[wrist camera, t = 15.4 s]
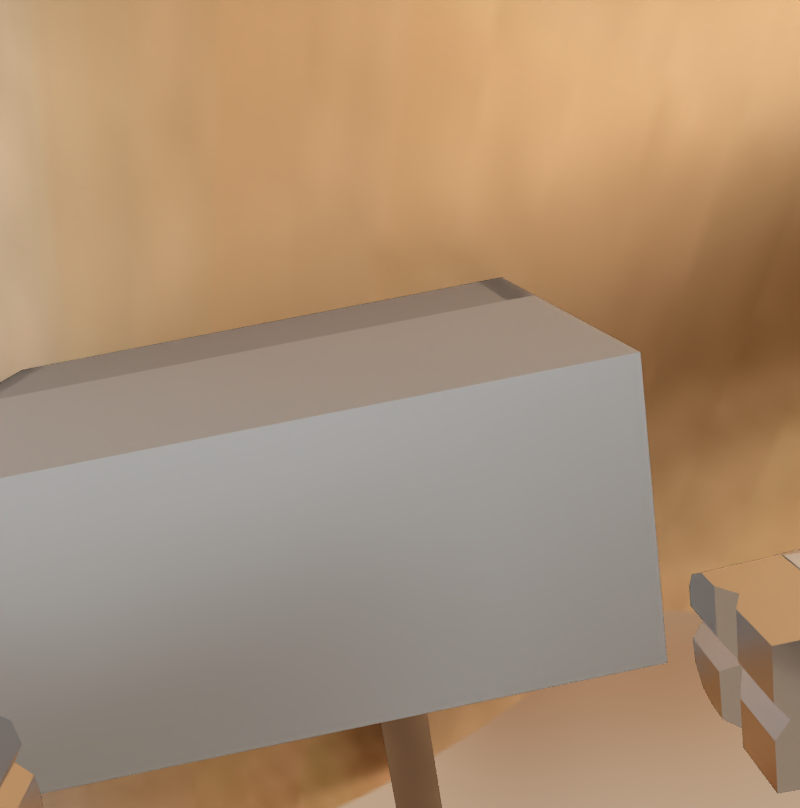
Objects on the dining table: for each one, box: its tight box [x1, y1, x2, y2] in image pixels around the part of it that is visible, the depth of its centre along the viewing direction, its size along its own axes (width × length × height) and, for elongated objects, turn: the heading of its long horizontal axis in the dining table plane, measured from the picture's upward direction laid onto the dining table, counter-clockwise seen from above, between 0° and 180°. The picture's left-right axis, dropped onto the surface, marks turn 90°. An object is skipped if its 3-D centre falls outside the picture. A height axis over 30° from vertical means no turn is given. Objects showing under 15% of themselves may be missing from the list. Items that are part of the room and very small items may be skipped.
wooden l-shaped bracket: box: [381, 713, 442, 808], centre depth 40 cm, size 10×14×5 cm
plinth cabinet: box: [0, 277, 667, 794], centre depth 30 cm, size 24×12×18 cm, turn 100°
